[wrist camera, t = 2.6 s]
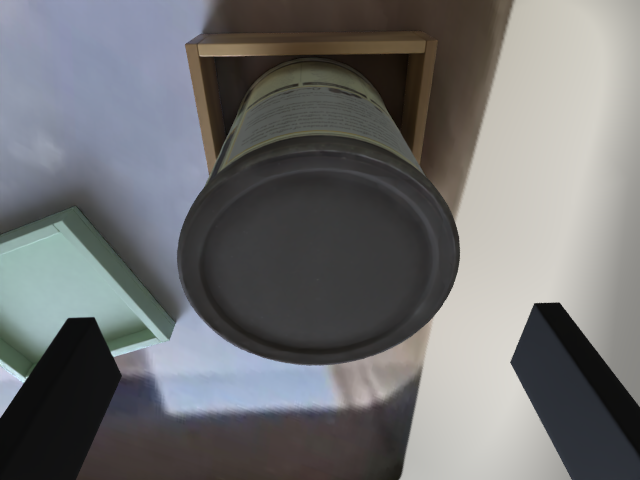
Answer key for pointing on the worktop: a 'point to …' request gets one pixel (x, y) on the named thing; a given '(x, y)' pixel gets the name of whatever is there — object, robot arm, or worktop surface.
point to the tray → (69, 291)
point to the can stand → (311, 44)
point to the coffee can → (316, 224)
